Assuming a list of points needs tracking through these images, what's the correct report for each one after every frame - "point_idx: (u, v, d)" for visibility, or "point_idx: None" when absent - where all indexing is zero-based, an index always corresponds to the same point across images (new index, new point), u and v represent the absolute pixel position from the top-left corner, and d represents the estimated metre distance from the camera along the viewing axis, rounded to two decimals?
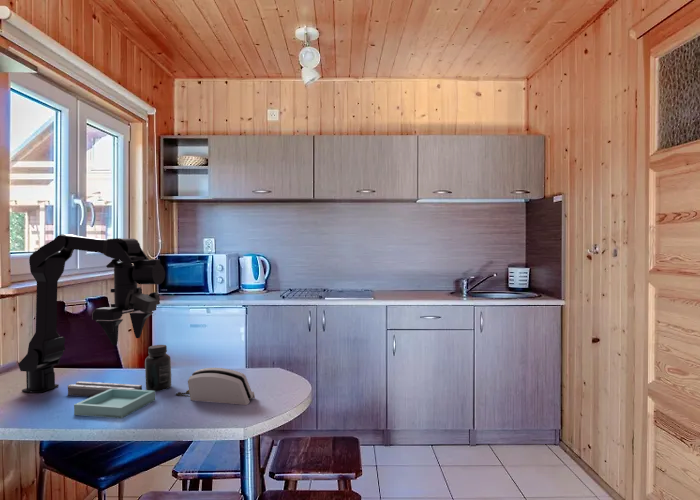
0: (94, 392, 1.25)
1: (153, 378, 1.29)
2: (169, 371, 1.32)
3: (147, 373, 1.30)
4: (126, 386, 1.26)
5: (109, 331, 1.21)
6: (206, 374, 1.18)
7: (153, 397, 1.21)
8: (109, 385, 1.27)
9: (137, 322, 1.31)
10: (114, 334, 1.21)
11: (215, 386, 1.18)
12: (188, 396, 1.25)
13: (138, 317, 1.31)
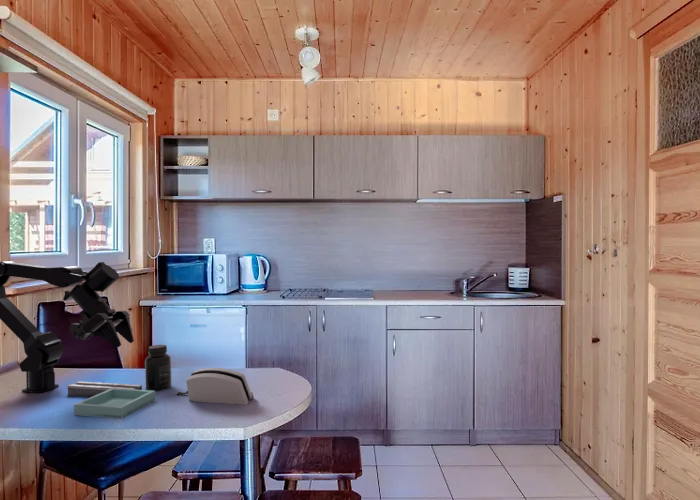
0: (94, 392, 1.25)
1: (153, 378, 1.29)
2: (169, 371, 1.32)
3: (147, 373, 1.30)
4: (126, 386, 1.26)
5: None
6: (205, 374, 1.18)
7: (153, 397, 1.21)
8: (109, 385, 1.27)
9: None
10: None
11: (214, 386, 1.18)
12: (188, 396, 1.25)
13: None
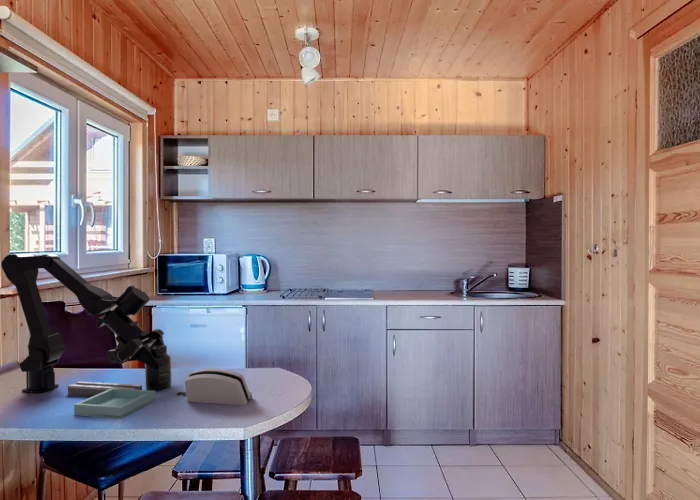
0: (94, 392, 1.25)
1: (153, 378, 1.29)
2: (169, 371, 1.32)
3: (147, 373, 1.30)
4: (126, 386, 1.26)
5: None
6: (203, 375, 1.17)
7: (153, 397, 1.21)
8: (109, 385, 1.27)
9: None
10: None
11: (213, 387, 1.17)
12: None
13: None
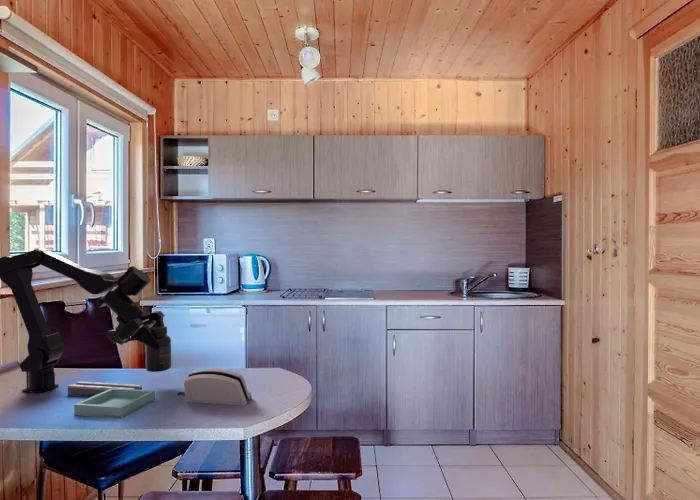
0: (94, 392, 1.25)
1: (153, 359, 1.29)
2: (169, 352, 1.32)
3: (147, 354, 1.29)
4: (126, 386, 1.26)
5: None
6: (203, 375, 1.17)
7: (153, 397, 1.21)
8: (109, 385, 1.27)
9: None
10: None
11: (212, 387, 1.17)
12: None
13: None
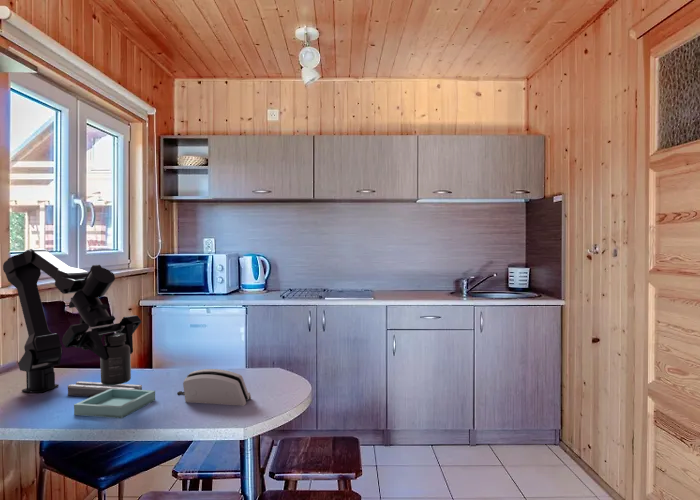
0: (94, 392, 1.25)
1: (103, 370, 1.14)
2: (123, 364, 1.15)
3: None
4: (126, 386, 1.26)
5: None
6: (202, 375, 1.17)
7: (153, 397, 1.21)
8: (109, 385, 1.27)
9: None
10: None
11: (211, 387, 1.17)
12: None
13: None
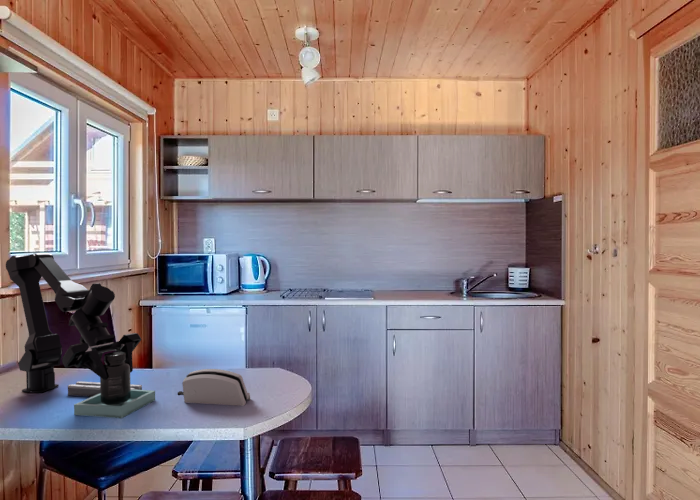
0: (94, 392, 1.25)
1: (103, 389, 1.14)
2: (122, 384, 1.15)
3: (100, 383, 1.15)
4: None
5: None
6: (202, 375, 1.17)
7: (153, 397, 1.21)
8: None
9: None
10: None
11: (211, 387, 1.17)
12: None
13: None
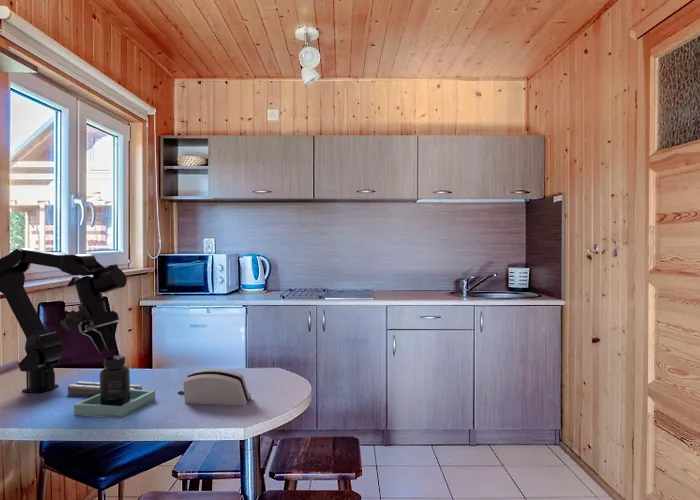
0: (94, 392, 1.25)
1: (102, 393, 1.14)
2: (122, 387, 1.15)
3: (100, 387, 1.15)
4: None
5: None
6: (203, 375, 1.17)
7: (153, 397, 1.21)
8: None
9: None
10: None
11: (212, 387, 1.17)
12: None
13: None
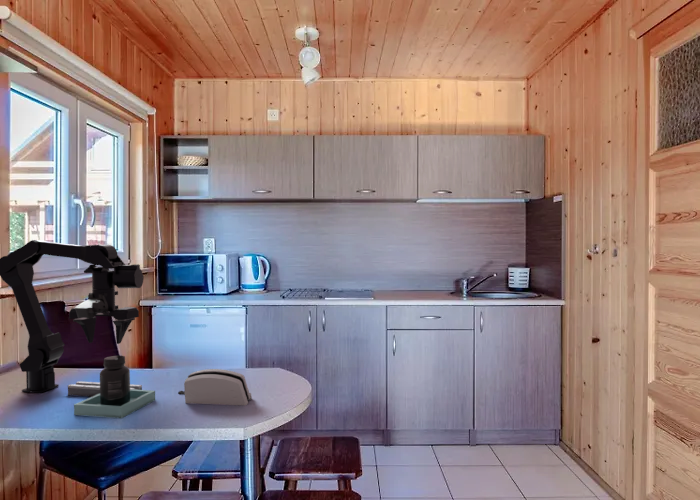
0: (94, 392, 1.25)
1: (102, 393, 1.14)
2: (122, 387, 1.15)
3: (100, 387, 1.15)
4: None
5: None
6: (204, 375, 1.17)
7: (153, 397, 1.21)
8: None
9: None
10: None
11: (213, 387, 1.17)
12: None
13: None
